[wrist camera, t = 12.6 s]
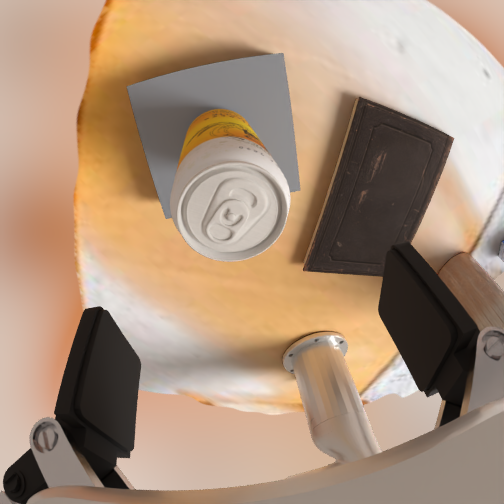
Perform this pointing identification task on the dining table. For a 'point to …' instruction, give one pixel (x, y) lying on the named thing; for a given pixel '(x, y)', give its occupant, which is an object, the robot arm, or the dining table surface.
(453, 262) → the planter
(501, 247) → the medicine box
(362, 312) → the dining table surface
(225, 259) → the beer can
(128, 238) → the dining table surface
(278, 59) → the plate
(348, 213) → the hardcover book
